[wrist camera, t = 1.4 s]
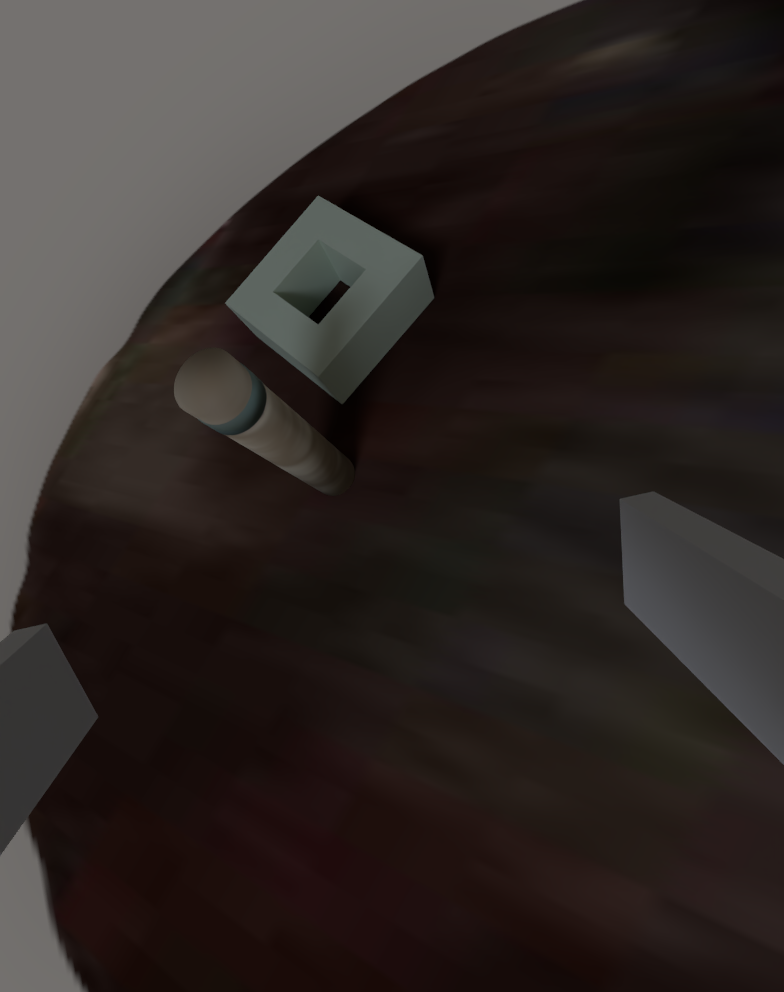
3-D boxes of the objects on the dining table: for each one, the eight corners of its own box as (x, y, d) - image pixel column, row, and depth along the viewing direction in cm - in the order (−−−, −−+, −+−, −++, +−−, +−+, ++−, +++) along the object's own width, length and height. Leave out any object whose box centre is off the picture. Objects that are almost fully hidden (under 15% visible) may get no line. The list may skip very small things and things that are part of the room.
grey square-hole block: (339, 240, 39) (318, 195, 35) (434, 297, 35) (422, 255, 31) (256, 336, 39) (225, 303, 35) (342, 404, 35) (318, 376, 31)
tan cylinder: (334, 445, 35) (208, 334, 21) (364, 471, 34) (251, 371, 19) (306, 478, 35) (160, 389, 21) (335, 505, 33) (201, 429, 19)
